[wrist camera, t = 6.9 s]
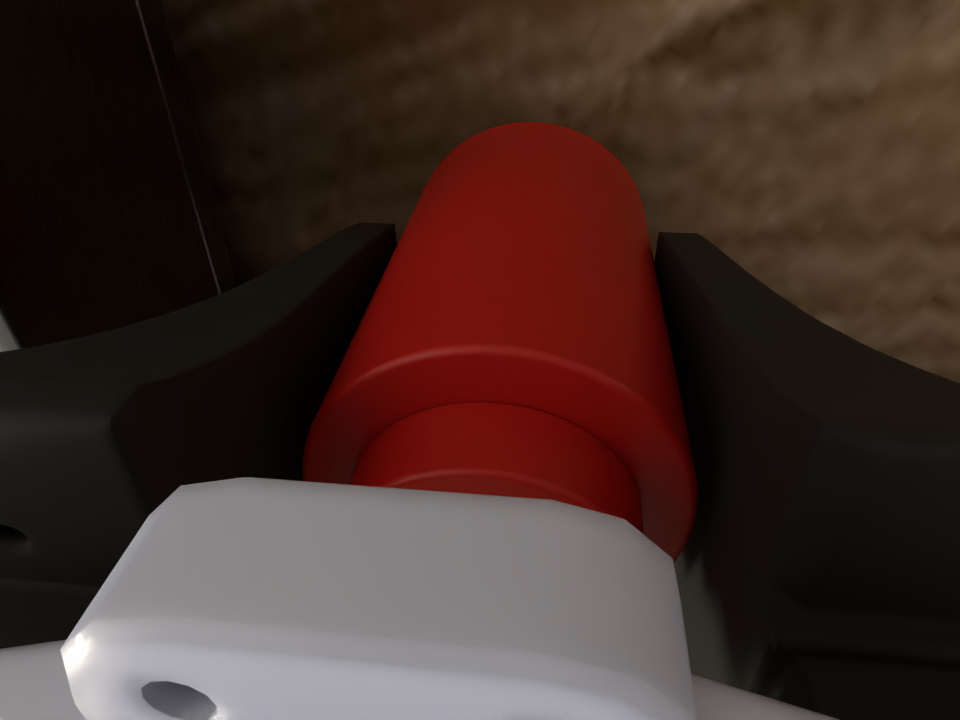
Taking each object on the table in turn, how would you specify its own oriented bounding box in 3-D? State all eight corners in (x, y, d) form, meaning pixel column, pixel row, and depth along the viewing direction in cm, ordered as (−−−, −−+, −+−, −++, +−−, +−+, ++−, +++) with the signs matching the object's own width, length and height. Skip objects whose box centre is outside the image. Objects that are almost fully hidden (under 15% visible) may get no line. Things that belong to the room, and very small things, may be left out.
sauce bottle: (445, 339, 15) (321, 789, 8) (391, 142, 12) (130, 528, 5) (651, 318, 14) (732, 806, 7) (636, 99, 11) (741, 499, 4)
